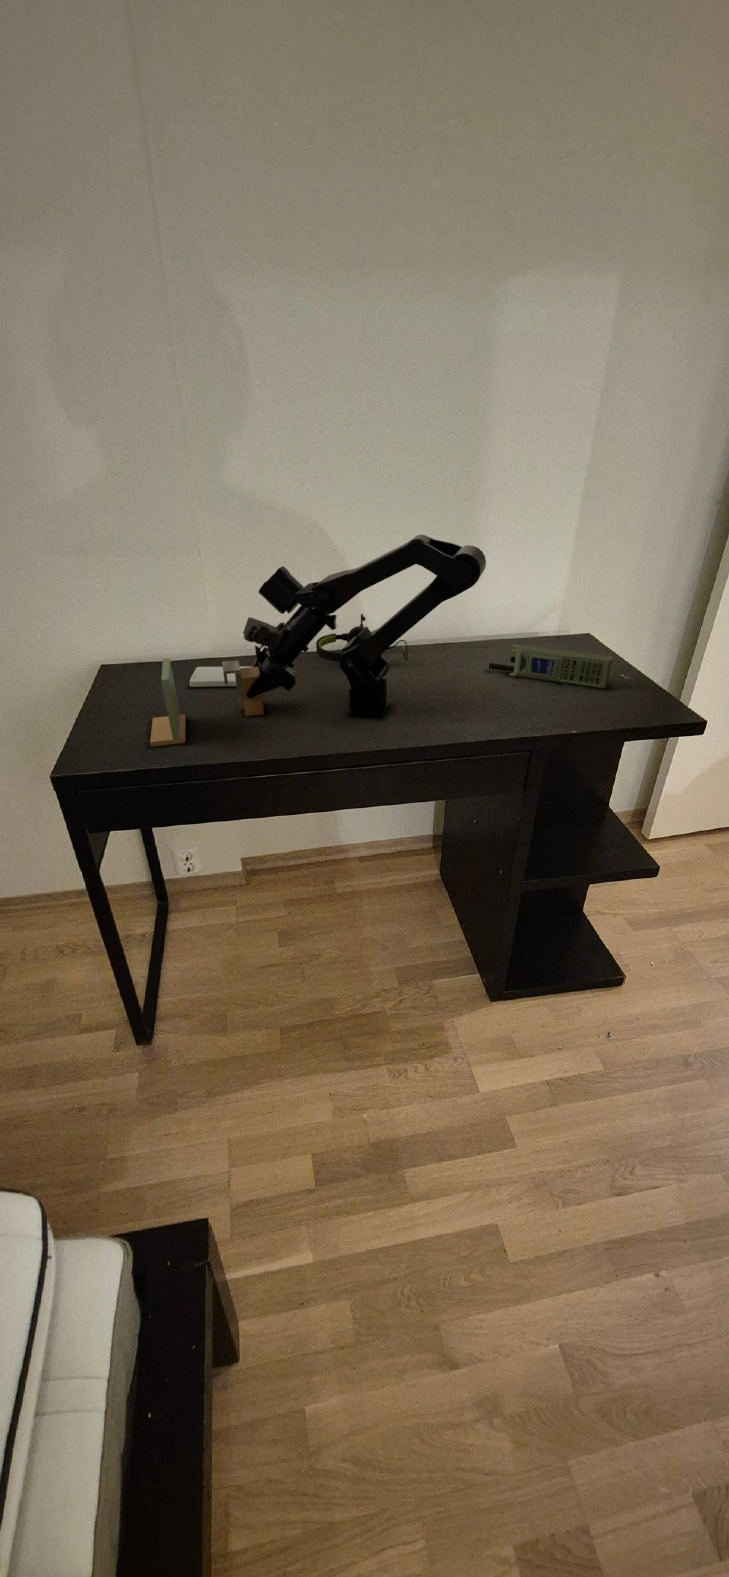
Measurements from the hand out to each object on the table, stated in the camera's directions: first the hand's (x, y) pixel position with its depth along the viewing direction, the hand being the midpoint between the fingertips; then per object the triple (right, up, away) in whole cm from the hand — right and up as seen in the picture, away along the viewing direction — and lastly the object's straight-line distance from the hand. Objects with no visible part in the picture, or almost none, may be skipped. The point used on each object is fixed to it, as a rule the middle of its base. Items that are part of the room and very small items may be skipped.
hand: (246, 691), depth 128 cm
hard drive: (-8, +5, +15) cm, 18 cm away
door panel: (-14, -9, -5) cm, 17 cm away
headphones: (+22, +11, +24) cm, 34 cm away
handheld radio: (+62, +4, +14) cm, 64 cm away
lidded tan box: (-1, -4, +2) cm, 4 cm away
